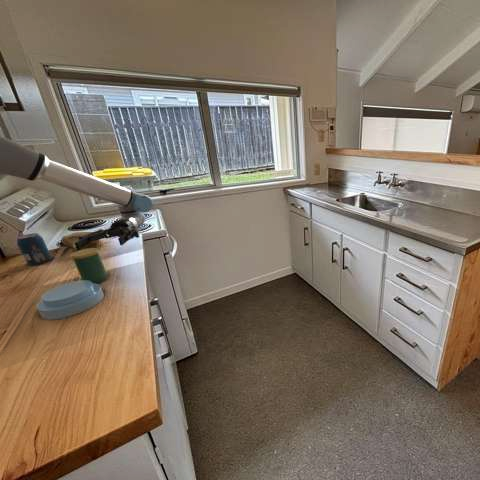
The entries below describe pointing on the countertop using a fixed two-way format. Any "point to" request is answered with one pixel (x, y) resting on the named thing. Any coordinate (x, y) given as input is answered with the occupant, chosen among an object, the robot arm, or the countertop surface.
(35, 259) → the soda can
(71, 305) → the upturned bowl
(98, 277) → the tea tin
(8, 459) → the countertop surface
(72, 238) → the sponge
